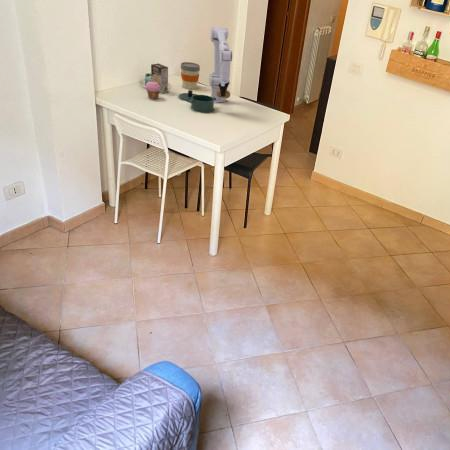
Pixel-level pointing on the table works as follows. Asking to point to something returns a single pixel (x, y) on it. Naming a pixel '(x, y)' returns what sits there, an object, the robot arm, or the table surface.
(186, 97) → the pot lid
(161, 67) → the coffee box
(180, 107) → the table surface
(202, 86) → the table surface
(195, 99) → the pot
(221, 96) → the brown cylinder
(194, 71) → the reusable coffee cup
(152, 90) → the cupcake
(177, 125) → the table surface
